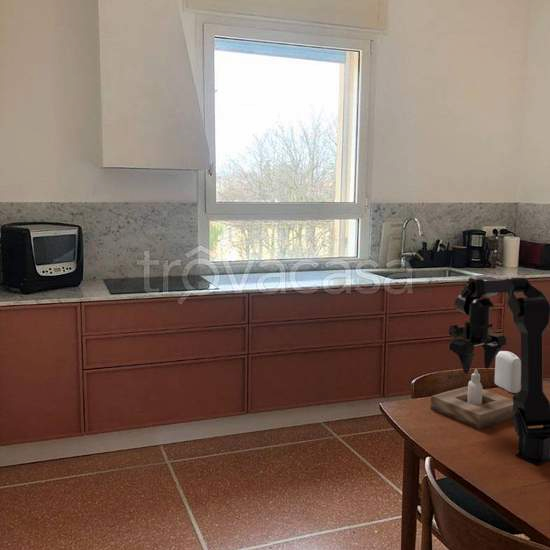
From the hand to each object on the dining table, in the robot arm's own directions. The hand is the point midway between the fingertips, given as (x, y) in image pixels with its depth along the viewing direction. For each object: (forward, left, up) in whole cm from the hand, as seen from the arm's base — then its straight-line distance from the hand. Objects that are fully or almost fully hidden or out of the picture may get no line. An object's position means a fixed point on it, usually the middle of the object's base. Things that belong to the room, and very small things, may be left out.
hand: (476, 370), depth 177 cm
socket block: (0, 0, -13) cm, 13 cm away
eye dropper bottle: (0, 0, -12) cm, 12 cm away
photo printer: (+8, -26, -13) cm, 30 cm away
